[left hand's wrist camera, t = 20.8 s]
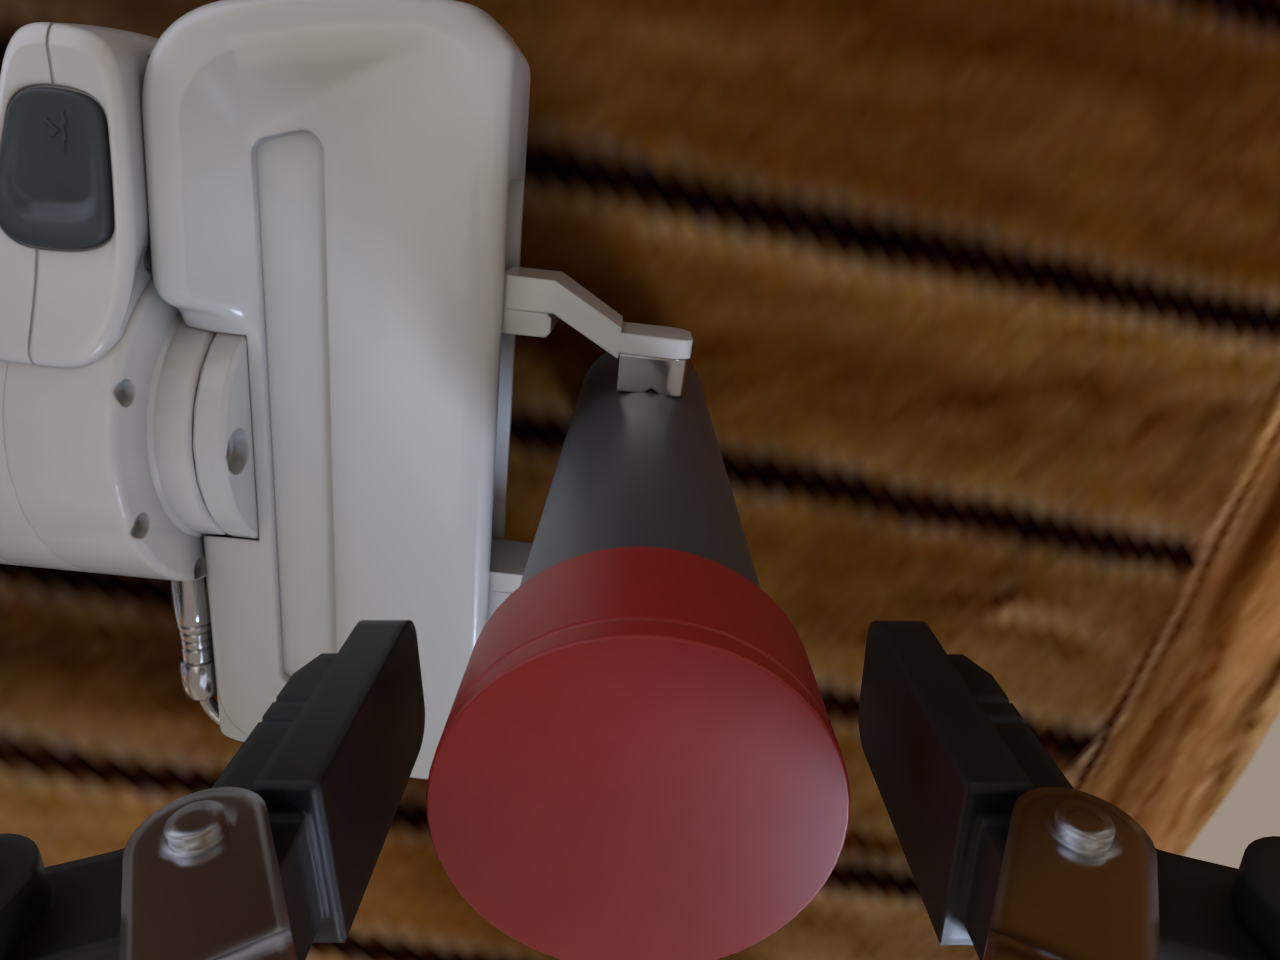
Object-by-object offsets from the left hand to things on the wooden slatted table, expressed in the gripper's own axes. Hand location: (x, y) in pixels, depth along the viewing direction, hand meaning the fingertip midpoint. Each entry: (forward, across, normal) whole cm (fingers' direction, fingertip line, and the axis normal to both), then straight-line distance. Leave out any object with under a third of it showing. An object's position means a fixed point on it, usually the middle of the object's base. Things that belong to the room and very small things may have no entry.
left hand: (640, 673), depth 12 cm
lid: (-3, 0, 0) cm, 3 cm away
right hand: (+10, -1, 0) cm, 10 cm away
